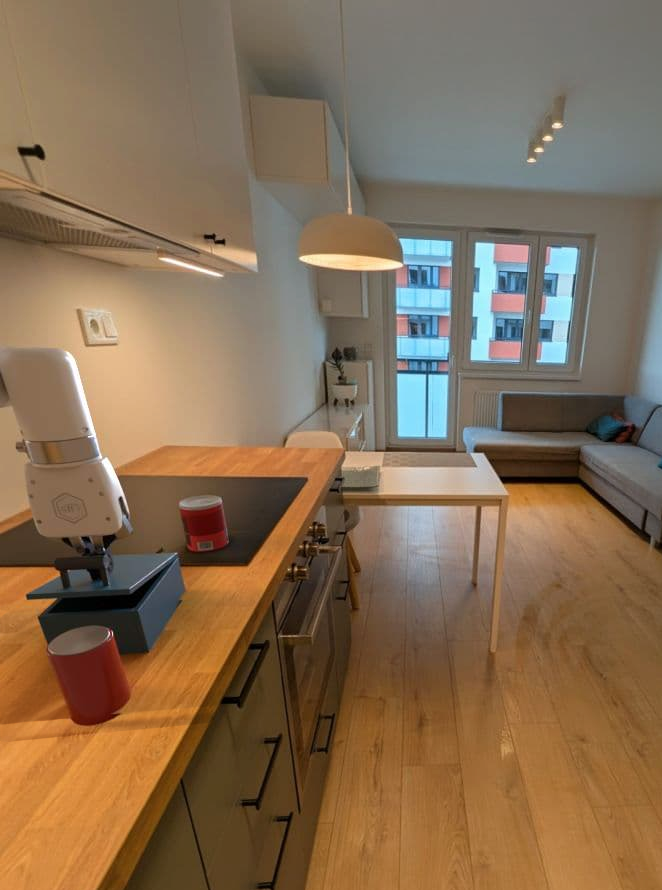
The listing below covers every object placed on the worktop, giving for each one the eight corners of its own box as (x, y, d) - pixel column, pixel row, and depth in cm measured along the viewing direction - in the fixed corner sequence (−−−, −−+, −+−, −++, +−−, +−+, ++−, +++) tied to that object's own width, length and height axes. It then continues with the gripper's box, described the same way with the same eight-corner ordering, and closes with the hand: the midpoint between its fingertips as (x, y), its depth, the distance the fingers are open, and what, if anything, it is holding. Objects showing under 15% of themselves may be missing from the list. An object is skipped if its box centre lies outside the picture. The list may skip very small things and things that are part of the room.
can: (59, 728, 61) (32, 658, 57) (86, 691, 67) (63, 626, 63) (119, 722, 62) (97, 653, 58) (140, 687, 68) (121, 622, 64)
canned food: (237, 547, 109) (229, 499, 104) (204, 561, 103) (194, 510, 98) (214, 539, 112) (205, 492, 108) (181, 552, 106) (170, 502, 101)
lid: (130, 594, 69) (124, 559, 67) (26, 600, 67) (17, 563, 65) (178, 557, 86) (173, 528, 85) (97, 560, 84) (91, 531, 83)
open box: (150, 656, 74) (137, 610, 71) (54, 663, 72) (37, 616, 69) (187, 596, 90) (178, 557, 86) (109, 601, 88) (97, 560, 84)
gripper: (-20, 458, 61) (30, 591, 69) (114, 455, 64) (148, 584, 71) (17, 444, 68) (59, 566, 76) (138, 442, 70) (167, 561, 78)
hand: (102, 575), depth 73 cm, fingers closed
